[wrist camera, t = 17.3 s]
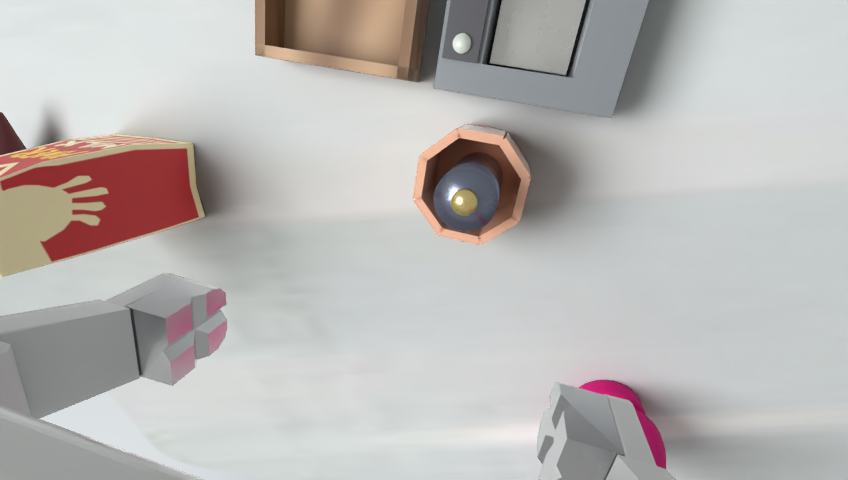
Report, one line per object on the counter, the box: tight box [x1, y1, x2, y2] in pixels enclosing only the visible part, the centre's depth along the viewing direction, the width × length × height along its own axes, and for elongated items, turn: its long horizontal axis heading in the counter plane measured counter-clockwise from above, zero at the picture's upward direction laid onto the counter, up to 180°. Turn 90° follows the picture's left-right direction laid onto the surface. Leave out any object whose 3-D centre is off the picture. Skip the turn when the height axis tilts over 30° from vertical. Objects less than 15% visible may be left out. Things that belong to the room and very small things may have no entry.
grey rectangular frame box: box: [434, 0, 649, 118], centre depth 26 cm, size 12×10×4 cm
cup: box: [413, 124, 531, 245], centre depth 29 cm, size 8×8×6 cm
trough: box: [255, 0, 430, 82], centre depth 29 cm, size 12×8×3 cm, turn 81°
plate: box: [490, 0, 586, 75], centre depth 27 cm, size 5×5×1 cm
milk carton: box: [0, 134, 205, 278], centre depth 30 cm, size 9×9×20 cm
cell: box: [434, 152, 503, 231], centre depth 27 cm, size 4×4×9 cm
